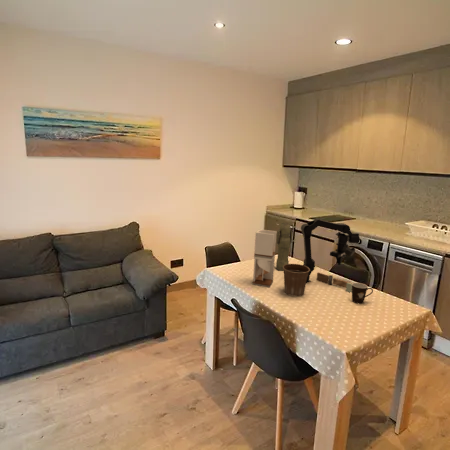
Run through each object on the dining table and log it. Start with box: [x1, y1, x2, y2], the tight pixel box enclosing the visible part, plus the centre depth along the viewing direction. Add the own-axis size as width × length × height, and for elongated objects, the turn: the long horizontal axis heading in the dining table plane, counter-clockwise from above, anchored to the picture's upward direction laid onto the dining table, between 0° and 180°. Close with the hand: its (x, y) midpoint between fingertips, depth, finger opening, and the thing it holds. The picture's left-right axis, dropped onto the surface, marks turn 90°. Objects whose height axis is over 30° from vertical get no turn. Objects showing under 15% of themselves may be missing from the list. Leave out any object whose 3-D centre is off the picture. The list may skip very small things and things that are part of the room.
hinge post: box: [316, 272, 334, 286], centre depth 224 cm, size 2×11×6 cm, turn 43°
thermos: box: [275, 222, 293, 272], centre depth 245 cm, size 9×12×35 cm
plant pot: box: [283, 263, 310, 297], centre depth 204 cm, size 16×16×16 cm
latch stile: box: [345, 282, 352, 293], centre depth 210 cm, size 2×3×6 cm, turn 43°
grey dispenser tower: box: [252, 229, 278, 288], centre depth 215 cm, size 11×11×35 cm
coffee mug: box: [351, 282, 374, 305], centre depth 195 cm, size 12×9×10 cm
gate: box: [332, 277, 352, 289], centre depth 215 cm, size 14×2×4 cm, turn 47°
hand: (339, 264), depth 224 cm, fingers closed
